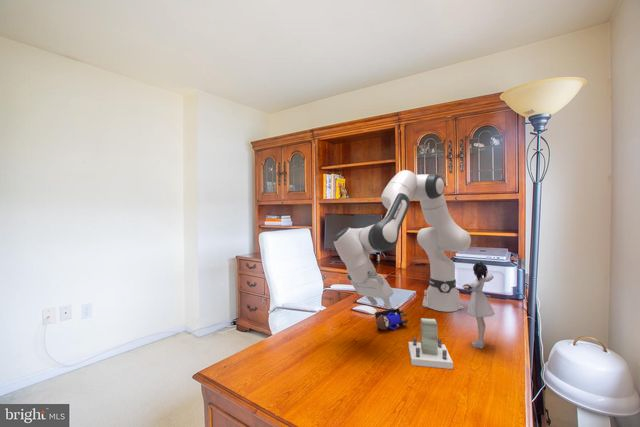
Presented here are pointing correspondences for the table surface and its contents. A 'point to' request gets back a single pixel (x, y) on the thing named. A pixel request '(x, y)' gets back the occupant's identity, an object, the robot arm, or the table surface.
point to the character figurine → (390, 319)
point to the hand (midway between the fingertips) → (381, 306)
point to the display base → (430, 356)
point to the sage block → (429, 336)
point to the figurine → (479, 301)
